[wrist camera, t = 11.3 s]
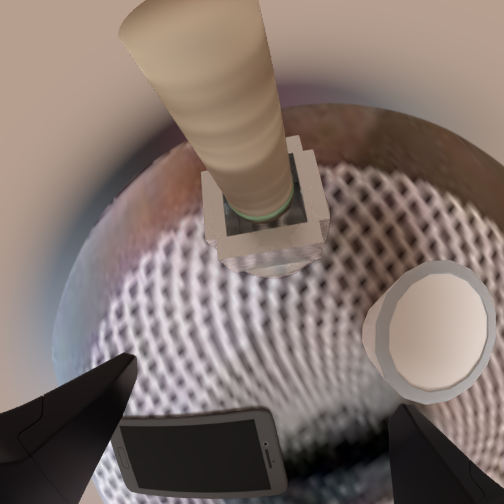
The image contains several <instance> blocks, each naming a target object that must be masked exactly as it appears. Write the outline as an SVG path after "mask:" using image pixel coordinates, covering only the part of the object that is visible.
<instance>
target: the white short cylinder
mask: <svg viewBox="0 0 504 504" xmlns="http://www.w3.org/2000/svg"><path fill="white" fill-rule="evenodd" d="M495 340H496V312H495V309H494V306H493V303H492V300H491V297H490V294H489V292H488V289H487V287H486V286H485V285H484V284H483V282H482V281H481V280H480V279H479V278H478V277H477V276H476V274H475V273H474V272H473V271H472V270H471V269H469V268H467V267H464V266H462V265H460V264H458V263H456V262H453V261H451V260H442V261H426V262H424V263H422V264H420V265H418V266H417V267H415V268H413V269H411V270H409V271H407V272H405V273H404V274H403V275H402V276H401V277H400V278H399V279H398V280H397V281H396V282H395V283H394V284H393V285H392V286H391V287H390V288H389V289H388V290H387V291H386V292H385V293H384V294H383V295H382V296H381V297H380V298H379V299H378V300H377V301H376V302H375V304H374V305H373V306H372V307H371V308H370V309H369V310H368V313H367V315H366V318H365V321H364V323H363V326H362V343H363V345H364V348H365V350H366V353H367V356H368V358H369V359H370V360H371V362H372V363H373V364H374V366H375V367H376V368H377V370H378V371H379V372H380V374H381V375H382V376H383V378H384V379H385V380H386V381H387V382H388V383H389V384H390V385H391V386H392V387H393V388H394V389H395V390H396V391H397V392H398V393H399V394H400V395H401V396H402V397H403V398H406V399H409V400H413V401H416V402H419V403H422V404H426V405H427V404H433V403H439V402H444V401H450V400H452V399H453V398H455V397H456V396H458V395H459V394H461V393H462V392H464V391H465V390H467V389H468V388H470V387H471V386H472V385H473V384H474V382H475V381H476V380H477V378H478V377H479V376H480V374H481V373H482V372H483V370H484V369H485V367H486V366H487V364H488V362H489V359H490V356H491V353H492V349H493V346H494V343H495Z"/></svg>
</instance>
